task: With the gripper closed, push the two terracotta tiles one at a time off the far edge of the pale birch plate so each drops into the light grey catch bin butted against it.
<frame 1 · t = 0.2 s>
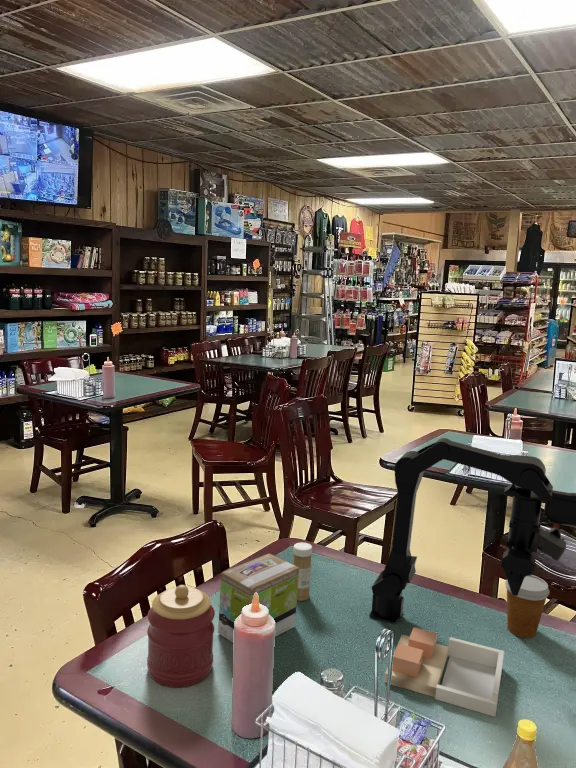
hand: (516, 585, 136), 14 cm above the table, tool pointing down, fingers open, 9 cm apart
tea box: (257, 631, 140), on the table
disposable coffee cup: (521, 630, 146), on the table
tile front: (407, 666, 126), point 2 cm above the table, touching birch plate
catch bin: (470, 683, 125), on the table
sprinkles bottle: (300, 597, 155), on the table
birch plate: (417, 668, 129), on the table
tile back: (421, 649, 133), point 2 cm above the table, touching birch plate
canister: (180, 668, 126), on the table
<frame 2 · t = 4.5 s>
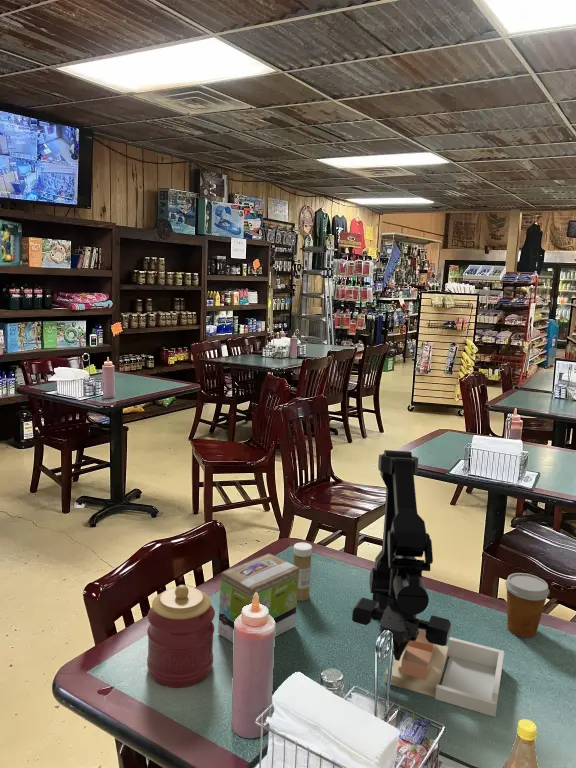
hand: (397, 659, 127), 3 cm above the table, tool pointing down, fingers closed
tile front: (416, 669, 126), point 2 cm above the table, touching gripper
everything else where it was.
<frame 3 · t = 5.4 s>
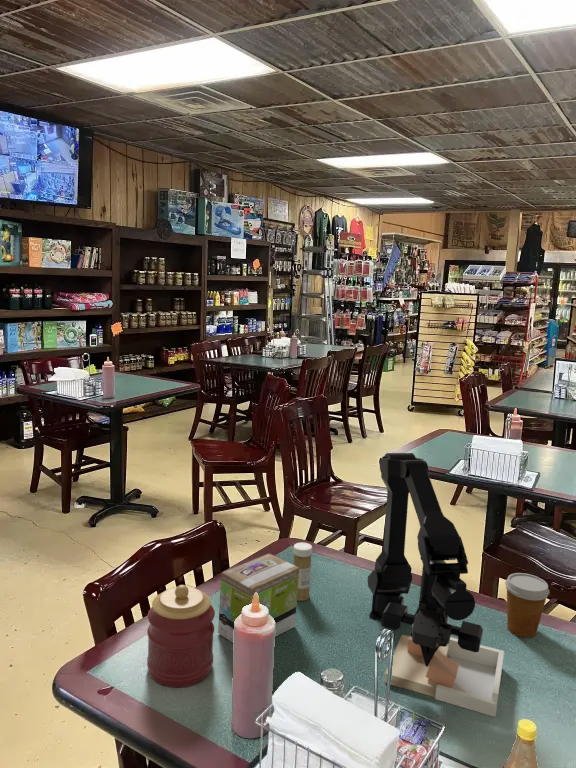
hand: (427, 665, 124), 4 cm above the table, tool pointing down, fingers closed
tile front: (439, 676, 124), point 2 cm above the table, tilted 17°, touching birch plate, gripper
everything else where it was.
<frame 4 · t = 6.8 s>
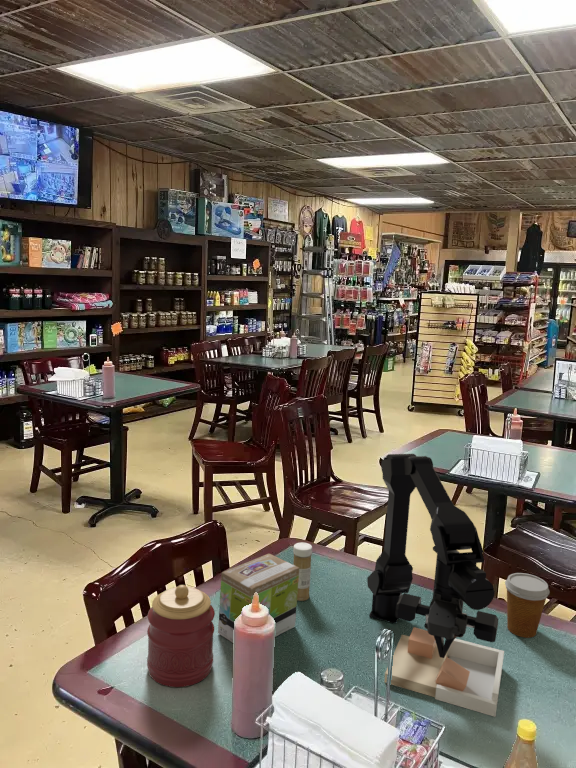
hand: (442, 656, 123), 6 cm above the table, tool pointing down, fingers closed
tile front: (449, 682, 123), point 1 cm above the table, tilted 21°, touching birch plate, catch bin
everything else where it was.
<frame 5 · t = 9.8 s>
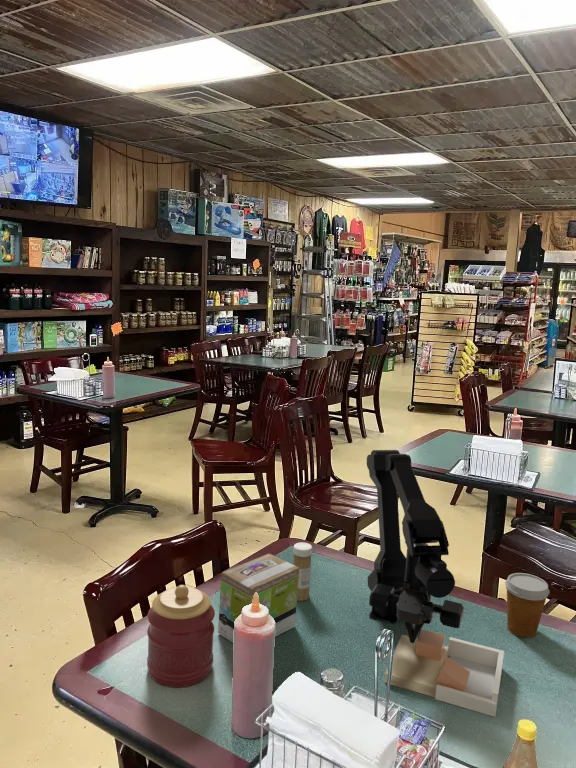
hand: (412, 642, 133), 3 cm above the table, tool pointing down, fingers closed
tile back: (430, 651, 132), point 2 cm above the table, touching gripper
everything else where it was.
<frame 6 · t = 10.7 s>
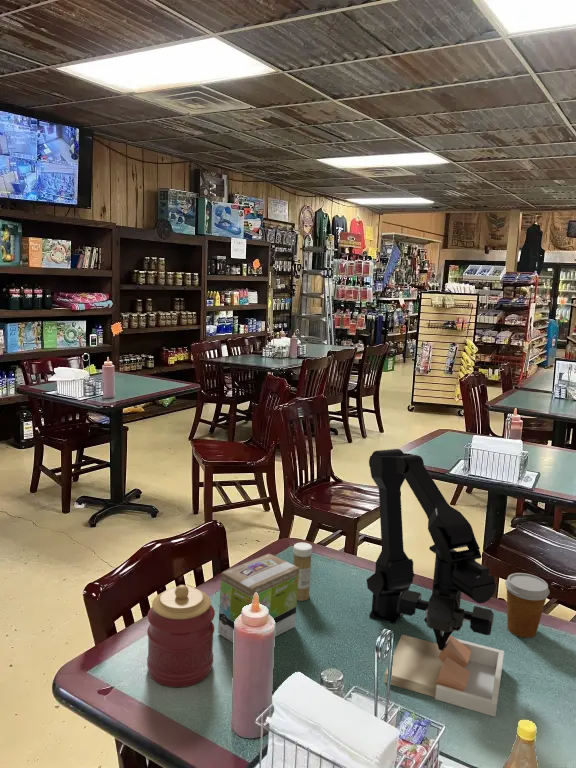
hand: (441, 649, 131), 3 cm above the table, tool pointing down, fingers closed
tile back: (451, 658, 131), point 2 cm above the table, tilted 27°, touching catch bin, gripper
everything else where it was.
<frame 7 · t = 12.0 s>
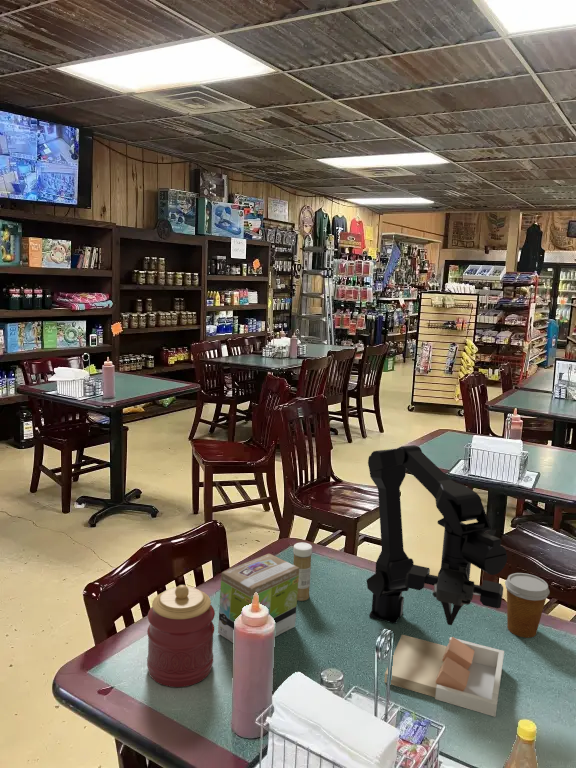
hand: (449, 624, 129), 9 cm above the table, tool pointing down, fingers closed
tile back: (455, 660, 130), point 1 cm above the table, tilted 21°, touching birch plate, catch bin
everything else where it was.
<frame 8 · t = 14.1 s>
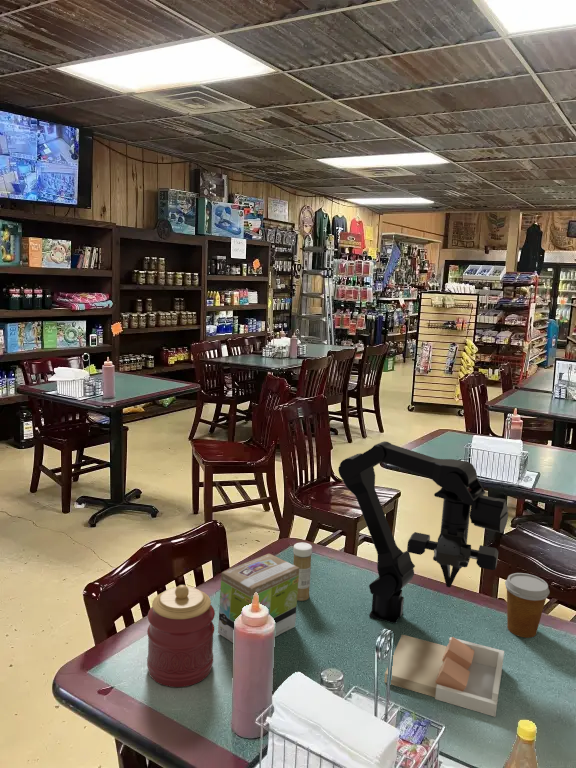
hand: (448, 586, 139), 12 cm above the table, tool pointing down, fingers closed
nothing on the table moved.
at the end: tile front inside the target area (5.2 cm from its centre), point 1.3 cm above the table; tile back inside the target area (5.6 cm from its centre), point 1.3 cm above the table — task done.
